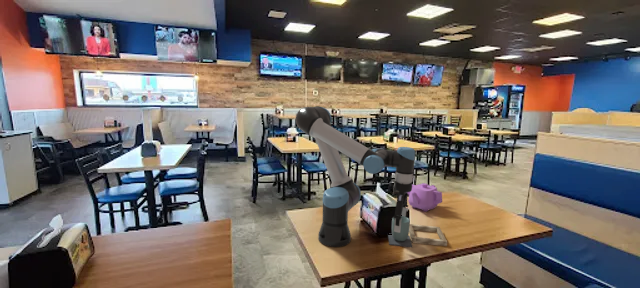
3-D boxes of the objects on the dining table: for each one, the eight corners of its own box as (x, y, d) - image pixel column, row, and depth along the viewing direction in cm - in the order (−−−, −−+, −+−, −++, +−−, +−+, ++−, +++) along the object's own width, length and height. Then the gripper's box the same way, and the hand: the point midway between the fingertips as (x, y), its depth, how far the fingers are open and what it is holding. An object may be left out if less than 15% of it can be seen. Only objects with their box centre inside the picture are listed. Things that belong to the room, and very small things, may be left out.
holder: (412, 242, 128) (412, 238, 128) (408, 228, 142) (408, 224, 142) (446, 246, 125) (447, 241, 125) (439, 231, 140) (439, 227, 139)
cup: (409, 237, 131) (411, 217, 130) (406, 245, 124) (408, 224, 123) (393, 233, 135) (394, 214, 133) (389, 240, 128) (390, 220, 126)
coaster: (389, 244, 125) (389, 243, 125) (388, 234, 135) (388, 233, 135) (412, 247, 124) (412, 246, 124) (409, 236, 133) (409, 235, 133)
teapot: (433, 202, 179) (435, 179, 177) (444, 213, 162) (446, 188, 159) (403, 201, 180) (404, 179, 178) (411, 212, 162) (413, 188, 160)
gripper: (408, 190, 112) (403, 239, 116) (415, 176, 134) (411, 217, 138) (389, 187, 115) (385, 235, 119) (400, 173, 138) (396, 214, 141)
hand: (399, 225), depth 128 cm, fingers open, 13 cm apart
